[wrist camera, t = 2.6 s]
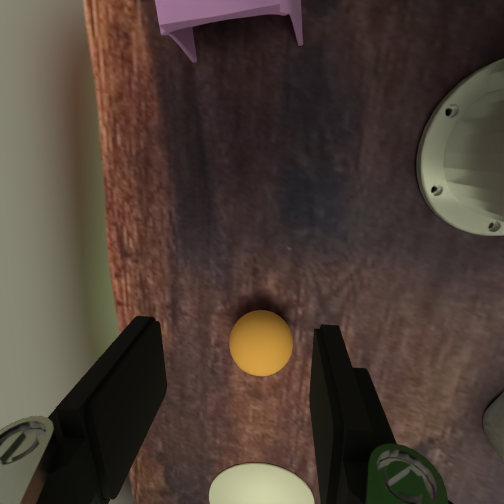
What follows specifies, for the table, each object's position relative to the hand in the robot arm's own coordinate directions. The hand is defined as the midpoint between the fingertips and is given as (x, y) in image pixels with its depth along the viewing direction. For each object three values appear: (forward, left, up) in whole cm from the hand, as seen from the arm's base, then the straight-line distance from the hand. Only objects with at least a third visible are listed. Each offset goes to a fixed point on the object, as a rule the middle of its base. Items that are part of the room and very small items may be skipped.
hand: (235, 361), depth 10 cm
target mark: (+35, 0, -17) cm, 39 cm away
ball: (+10, 0, -15) cm, 17 cm away
